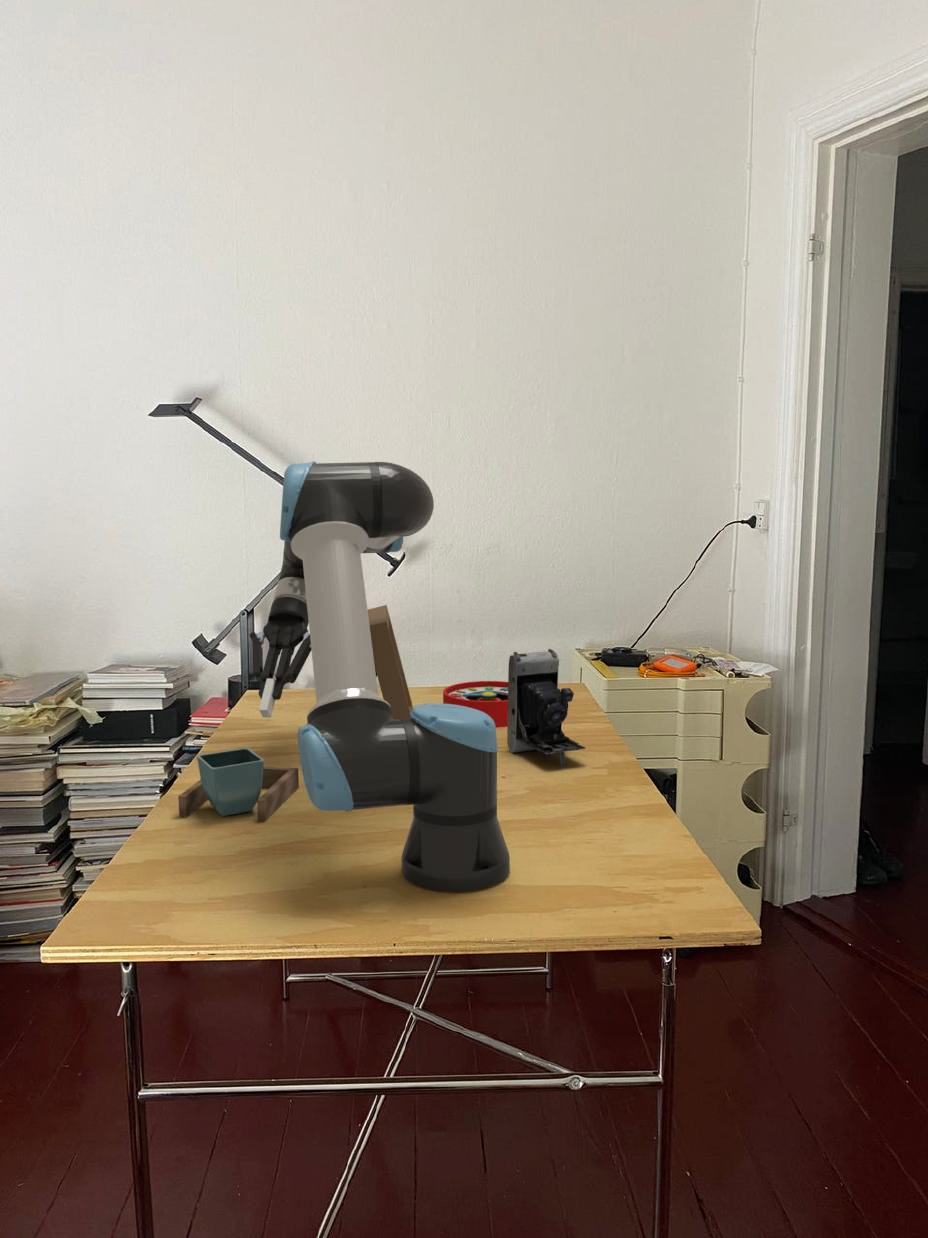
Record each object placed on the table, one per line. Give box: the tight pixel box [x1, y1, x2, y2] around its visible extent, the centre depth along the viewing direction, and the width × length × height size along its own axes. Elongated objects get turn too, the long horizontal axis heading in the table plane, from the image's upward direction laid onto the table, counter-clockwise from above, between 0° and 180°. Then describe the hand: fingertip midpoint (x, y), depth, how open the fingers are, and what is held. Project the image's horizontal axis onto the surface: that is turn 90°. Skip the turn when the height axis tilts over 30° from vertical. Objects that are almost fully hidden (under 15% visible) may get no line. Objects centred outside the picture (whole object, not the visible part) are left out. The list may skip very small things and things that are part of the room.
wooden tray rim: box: [177, 766, 300, 823], centre depth 178 cm, size 17×14×4 cm
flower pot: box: [196, 747, 265, 817], centre depth 174 cm, size 9×9×9 cm
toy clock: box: [442, 680, 508, 729], centre depth 233 cm, size 20×6×20 cm
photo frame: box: [367, 604, 414, 719], centre depth 220 cm, size 15×22×25 cm
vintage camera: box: [506, 648, 587, 768], centre depth 200 cm, size 10×16×20 cm, turn 24°
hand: (264, 713), depth 189 cm, fingers closed
